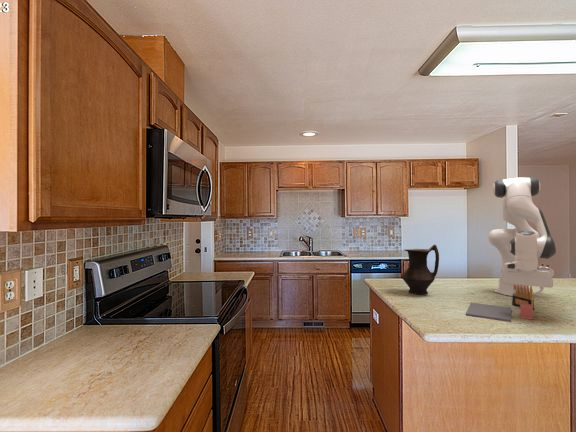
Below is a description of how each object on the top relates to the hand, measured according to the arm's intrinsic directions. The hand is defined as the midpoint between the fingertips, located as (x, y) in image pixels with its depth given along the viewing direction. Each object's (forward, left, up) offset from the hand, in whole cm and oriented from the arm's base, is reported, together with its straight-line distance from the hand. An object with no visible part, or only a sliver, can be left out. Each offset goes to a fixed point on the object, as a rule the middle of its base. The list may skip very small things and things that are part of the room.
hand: (526, 294), depth 161 cm
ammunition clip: (-17, -1, -10) cm, 20 cm away
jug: (-19, -52, -10) cm, 56 cm away
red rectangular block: (0, 0, -10) cm, 10 cm away
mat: (+2, -15, -10) cm, 18 cm away
